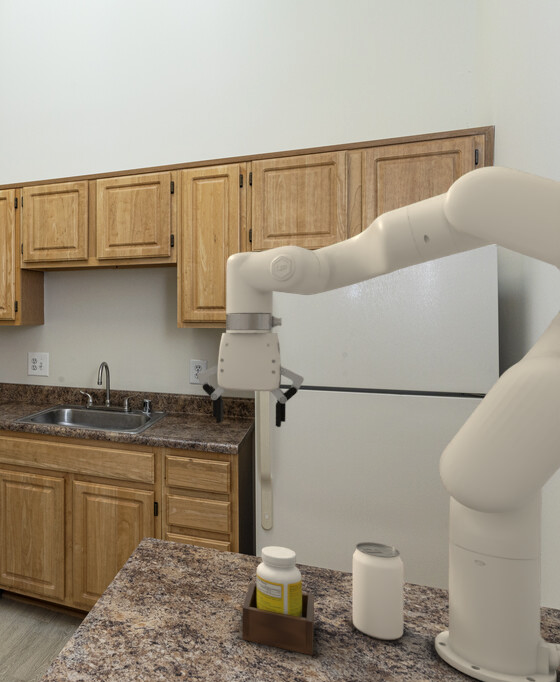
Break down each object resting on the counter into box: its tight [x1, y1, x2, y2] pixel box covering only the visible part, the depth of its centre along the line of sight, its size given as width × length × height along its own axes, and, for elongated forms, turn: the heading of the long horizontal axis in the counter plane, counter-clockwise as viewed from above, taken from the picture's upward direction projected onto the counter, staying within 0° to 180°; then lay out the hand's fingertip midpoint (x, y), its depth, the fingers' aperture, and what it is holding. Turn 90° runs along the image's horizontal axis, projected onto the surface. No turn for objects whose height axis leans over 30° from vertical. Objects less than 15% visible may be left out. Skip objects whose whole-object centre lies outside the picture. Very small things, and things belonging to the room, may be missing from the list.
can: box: [352, 541, 404, 641], centre depth 83 cm, size 6×6×12 cm
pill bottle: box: [256, 545, 303, 617], centre depth 82 cm, size 6×6×11 cm
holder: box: [242, 582, 315, 656], centre depth 82 cm, size 9×9×5 cm
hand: (248, 423), depth 97 cm, fingers open, 9 cm apart
